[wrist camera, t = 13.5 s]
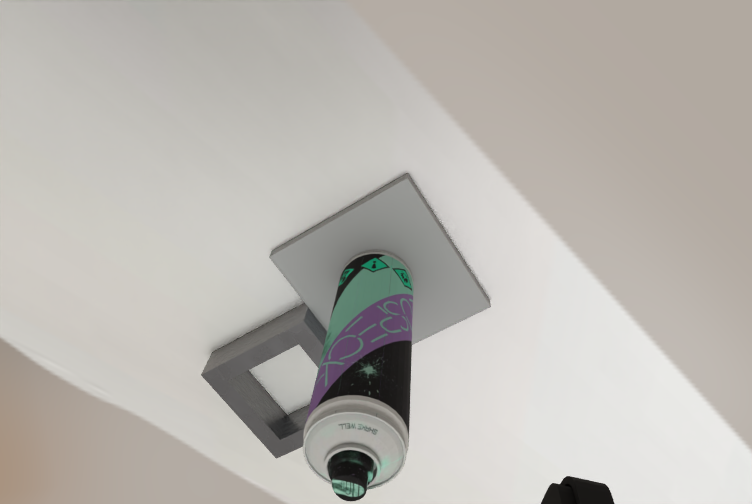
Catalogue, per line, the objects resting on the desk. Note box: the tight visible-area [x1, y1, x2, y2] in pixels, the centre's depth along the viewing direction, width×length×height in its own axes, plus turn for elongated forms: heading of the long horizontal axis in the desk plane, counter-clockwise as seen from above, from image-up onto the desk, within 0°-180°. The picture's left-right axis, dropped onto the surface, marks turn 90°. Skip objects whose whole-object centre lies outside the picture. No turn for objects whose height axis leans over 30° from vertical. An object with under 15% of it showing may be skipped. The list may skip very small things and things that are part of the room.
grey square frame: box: [201, 303, 327, 458], centre depth 53 cm, size 10×10×3 cm
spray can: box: [303, 250, 413, 501], centre depth 40 cm, size 6×6×20 cm
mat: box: [269, 173, 491, 345], centre depth 49 cm, size 12×12×1 cm
